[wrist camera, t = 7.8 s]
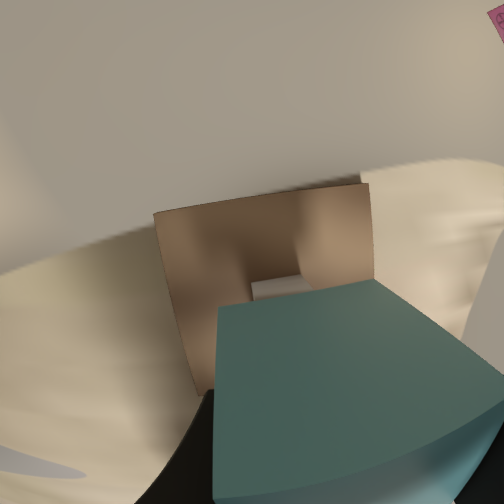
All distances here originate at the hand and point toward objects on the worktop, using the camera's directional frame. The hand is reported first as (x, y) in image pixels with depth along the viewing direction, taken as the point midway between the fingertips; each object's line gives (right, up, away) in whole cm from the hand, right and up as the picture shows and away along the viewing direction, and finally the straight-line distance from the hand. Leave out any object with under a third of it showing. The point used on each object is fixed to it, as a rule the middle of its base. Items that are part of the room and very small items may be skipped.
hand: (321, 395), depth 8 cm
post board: (-1, +2, +8) cm, 8 cm away
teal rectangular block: (0, 0, +2) cm, 2 cm away
